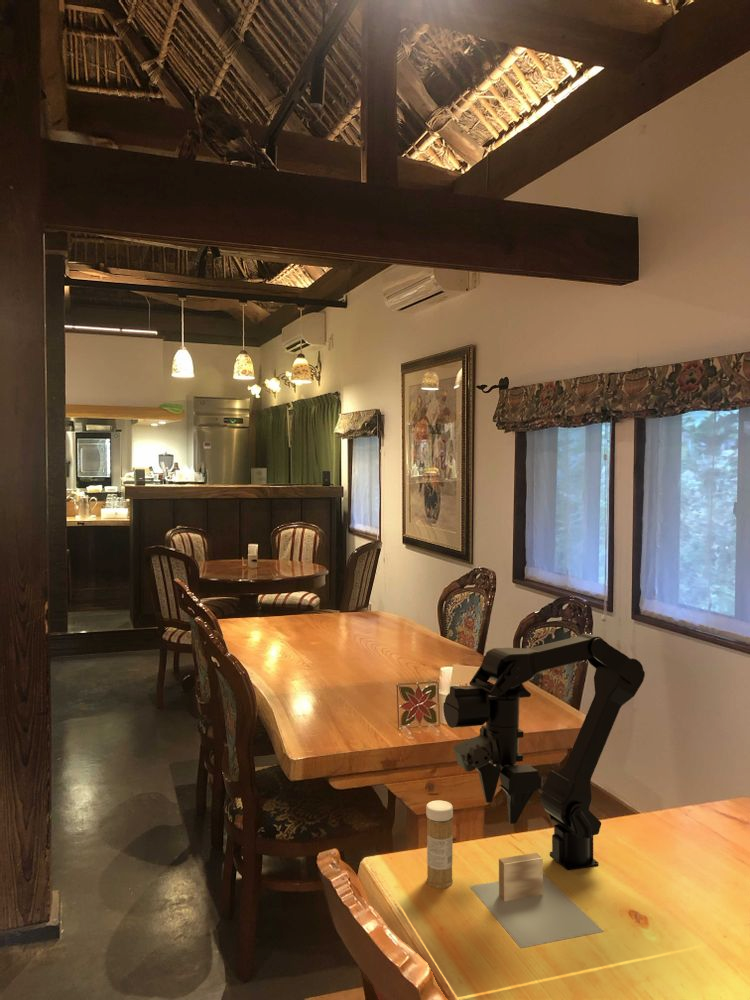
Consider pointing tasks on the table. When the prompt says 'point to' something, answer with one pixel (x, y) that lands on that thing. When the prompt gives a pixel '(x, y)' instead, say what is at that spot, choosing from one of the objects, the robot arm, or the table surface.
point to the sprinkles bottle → (439, 844)
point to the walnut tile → (520, 876)
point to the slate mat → (537, 915)
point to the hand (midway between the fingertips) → (500, 812)
